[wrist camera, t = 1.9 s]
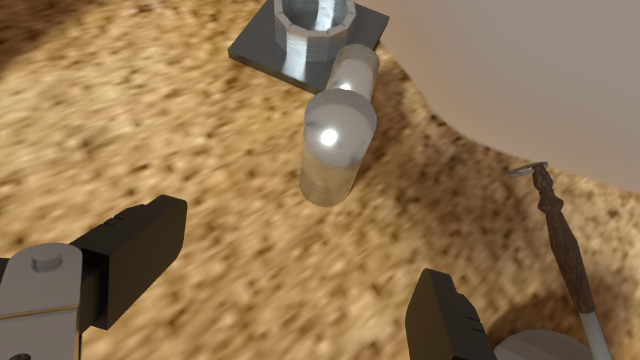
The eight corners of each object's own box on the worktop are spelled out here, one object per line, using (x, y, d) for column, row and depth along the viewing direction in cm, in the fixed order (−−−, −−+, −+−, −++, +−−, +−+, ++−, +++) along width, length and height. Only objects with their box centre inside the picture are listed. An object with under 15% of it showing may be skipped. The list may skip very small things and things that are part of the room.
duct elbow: (344, 212, 33) (369, 158, 23) (293, 198, 33) (295, 138, 23) (364, 130, 37) (393, 53, 27) (319, 118, 37) (330, 36, 27)
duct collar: (229, 57, 39) (222, 23, 35) (286, -16, 45) (286, -53, 41) (342, 106, 38) (349, 77, 33) (387, 24, 43) (397, -10, 39)
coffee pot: (636, 453, 27) (996, 573, 13) (518, 539, 24) (819, 801, 10) (481, 209, 34) (609, 123, 21) (378, 253, 32) (448, 189, 18)
